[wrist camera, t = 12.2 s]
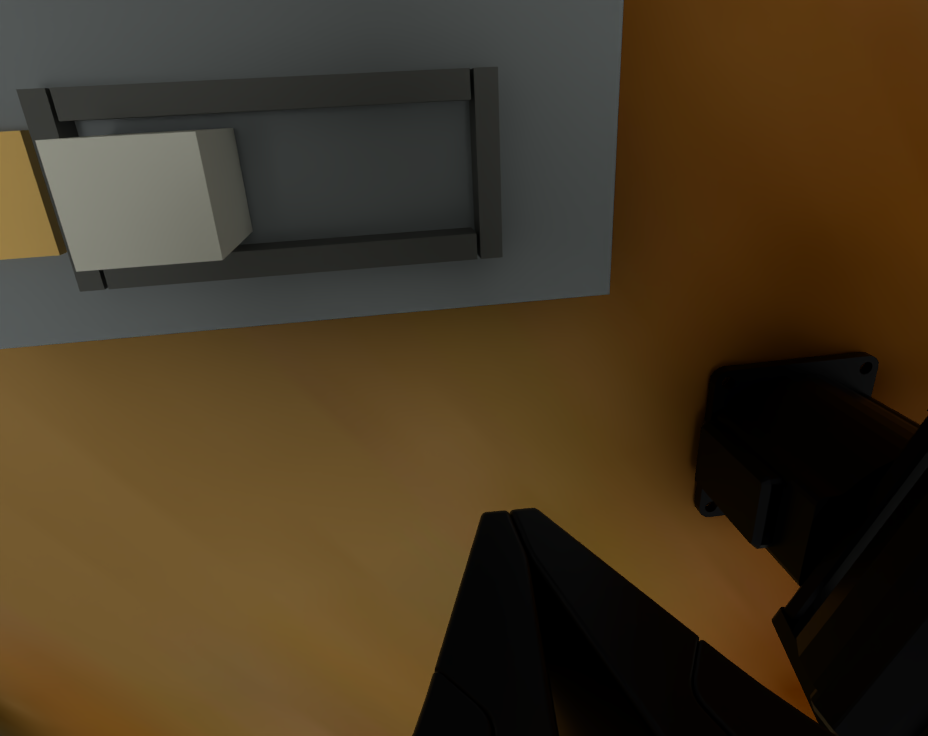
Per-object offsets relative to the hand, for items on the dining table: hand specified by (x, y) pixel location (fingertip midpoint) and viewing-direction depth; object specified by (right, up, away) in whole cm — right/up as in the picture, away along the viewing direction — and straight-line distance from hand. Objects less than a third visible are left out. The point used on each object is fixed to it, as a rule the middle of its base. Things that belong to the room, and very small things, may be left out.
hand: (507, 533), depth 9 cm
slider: (-8, +7, +6) cm, 12 cm away
